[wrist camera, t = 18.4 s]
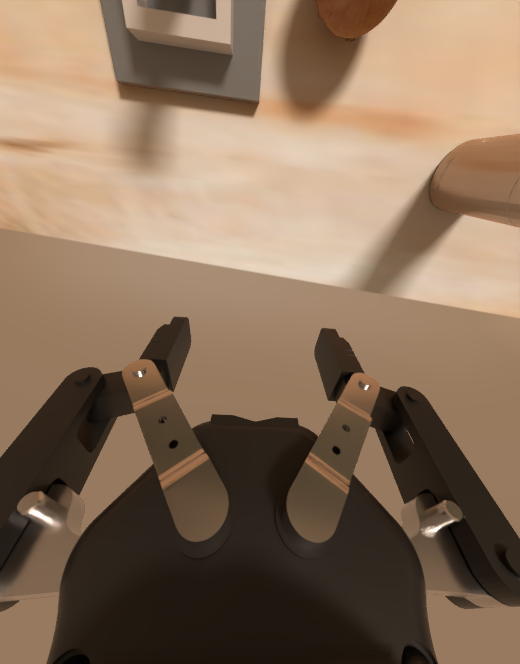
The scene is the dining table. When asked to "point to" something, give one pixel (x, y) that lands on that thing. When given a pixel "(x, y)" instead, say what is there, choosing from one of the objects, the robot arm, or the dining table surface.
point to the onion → (353, 15)
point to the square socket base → (188, 45)
